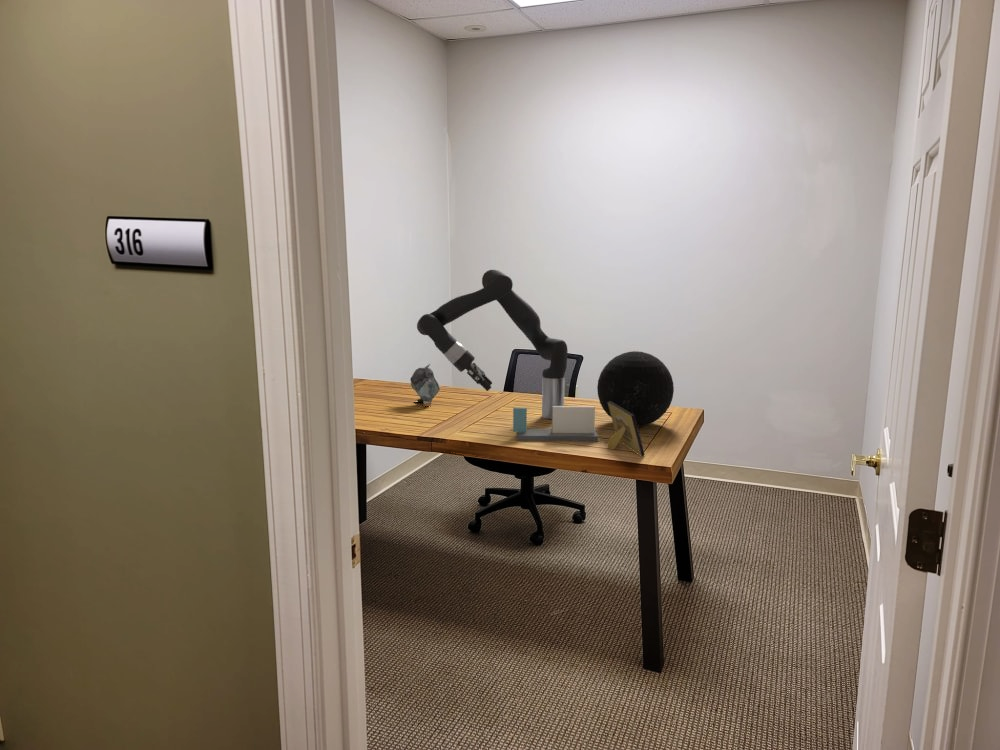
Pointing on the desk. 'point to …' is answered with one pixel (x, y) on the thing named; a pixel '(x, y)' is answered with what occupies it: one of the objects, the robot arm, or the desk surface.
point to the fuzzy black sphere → (636, 386)
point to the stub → (519, 419)
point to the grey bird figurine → (425, 385)
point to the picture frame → (624, 429)
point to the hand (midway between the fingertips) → (490, 387)
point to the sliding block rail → (566, 426)
